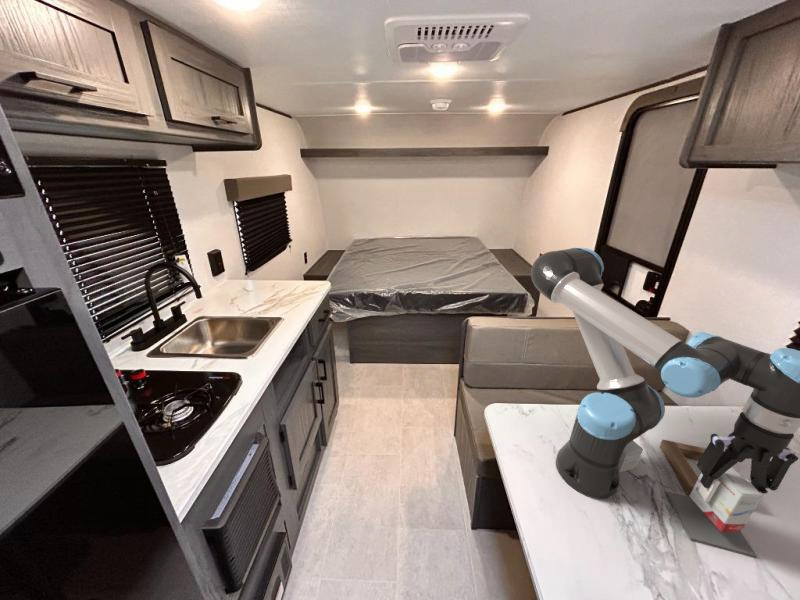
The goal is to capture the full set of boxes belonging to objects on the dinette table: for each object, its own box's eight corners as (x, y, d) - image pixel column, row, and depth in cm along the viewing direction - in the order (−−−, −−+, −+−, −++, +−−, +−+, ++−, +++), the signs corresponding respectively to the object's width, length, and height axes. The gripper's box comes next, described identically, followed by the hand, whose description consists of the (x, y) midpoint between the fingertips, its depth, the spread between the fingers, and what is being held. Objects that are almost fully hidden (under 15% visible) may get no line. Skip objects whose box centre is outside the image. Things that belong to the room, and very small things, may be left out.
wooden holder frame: (686, 494, 82) (690, 486, 81) (659, 446, 97) (662, 439, 95) (753, 510, 79) (758, 502, 78) (714, 458, 93) (719, 451, 92)
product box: (618, 473, 88) (626, 453, 85) (600, 455, 93) (607, 436, 90) (635, 468, 89) (644, 449, 86) (617, 451, 95) (624, 432, 92)
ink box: (741, 533, 70) (766, 496, 66) (719, 532, 70) (742, 495, 66) (707, 496, 78) (727, 461, 74) (687, 495, 78) (706, 460, 74)
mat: (690, 540, 72) (691, 538, 72) (665, 492, 83) (666, 490, 82) (755, 557, 69) (757, 556, 69) (721, 506, 80) (722, 504, 79)
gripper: (722, 424, 63) (680, 503, 72) (846, 447, 58) (785, 529, 67) (700, 400, 70) (665, 475, 79) (811, 419, 65) (759, 497, 74)
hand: (720, 500), depth 73 cm, fingers closed on ink box, 6 cm apart
